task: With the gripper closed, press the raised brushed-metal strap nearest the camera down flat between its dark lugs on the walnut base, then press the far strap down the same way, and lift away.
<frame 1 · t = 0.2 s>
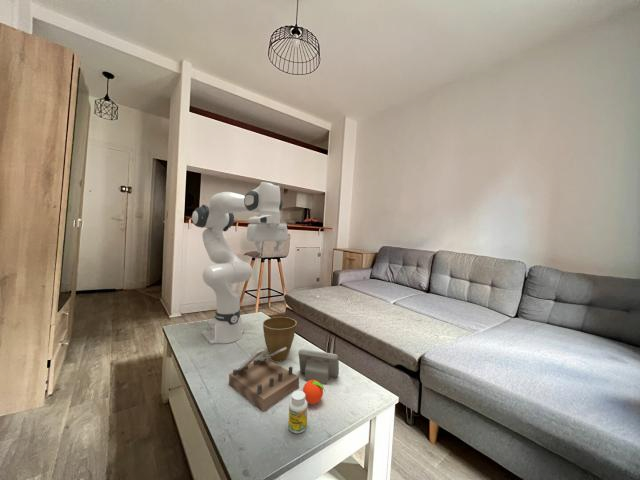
hand: (268, 251, 105), 48 cm above the table, fingers open, 8 cm apart
plant pot: (278, 357, 109), on the table
strap base: (263, 385, 89), on the table
clementine: (313, 402, 82), on the table
supplement bottle: (297, 427, 71), on the table
near strap: (249, 361, 87), point 10 cm above the table, hinge at 45.0°
digital clock: (318, 377, 96), on the table
far strap: (270, 355, 93), point 9 cm above the table, hinge at 35.0°
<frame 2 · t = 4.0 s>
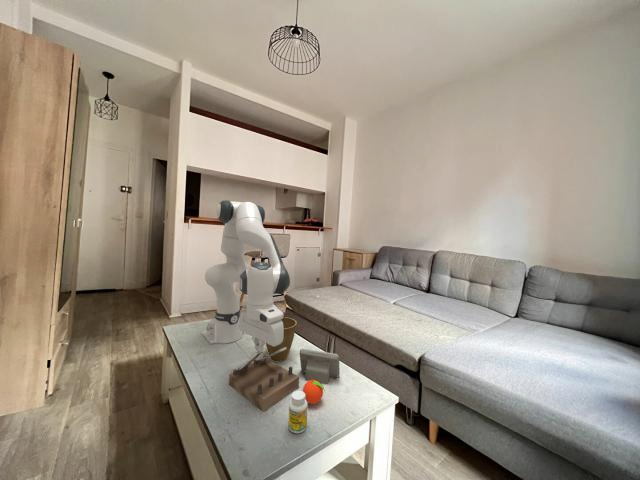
hand: (259, 350, 83), 16 cm above the table, fingers closed
near strap: (249, 361, 87), point 10 cm above the table, hinge at 44.1°, touching gripper
everything else where it was.
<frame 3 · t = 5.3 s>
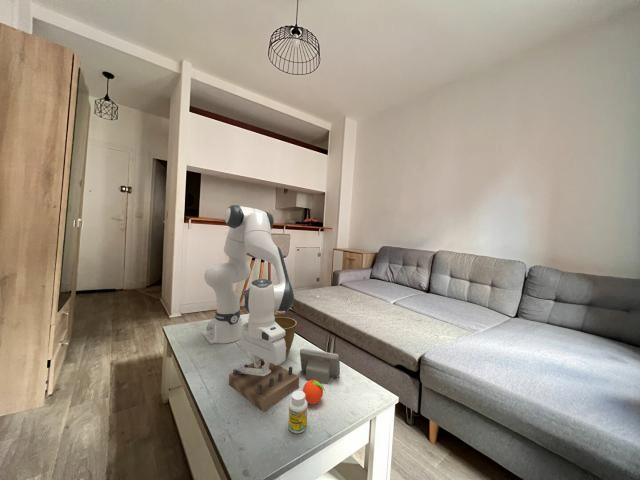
hand: (261, 369, 83), 10 cm above the table, fingers open, 3 cm apart
near strap: (252, 371, 86), point 7 cm above the table, hinge at 18.5°, touching gripper
everything else where it was.
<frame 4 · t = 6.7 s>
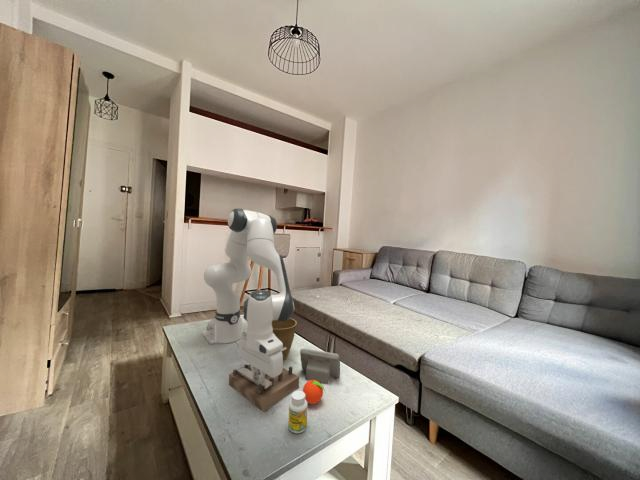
hand: (258, 379, 84), 6 cm above the table, fingers closed on near strap, 2 cm apart
near strap: (253, 377, 86), point 5 cm above the table, hinge at 4.1°, touching gripper
everything else where it was.
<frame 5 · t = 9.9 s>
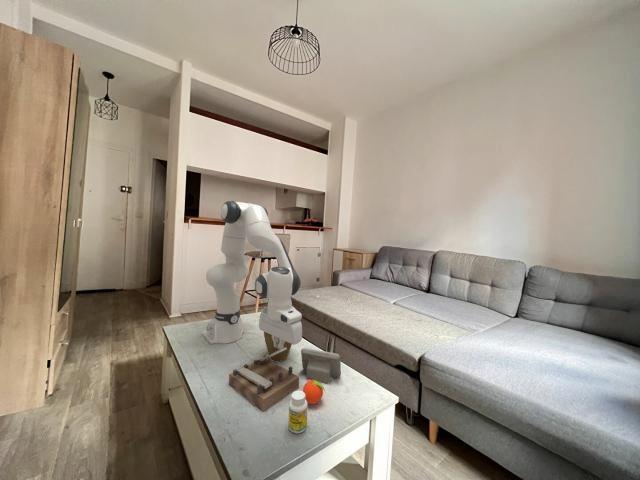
hand: (278, 347, 91), 13 cm above the table, fingers closed
near strap: (253, 377, 86), point 5 cm above the table, hinge at 4.1°
far strap: (270, 355, 93), point 9 cm above the table, hinge at 34.6°, touching gripper
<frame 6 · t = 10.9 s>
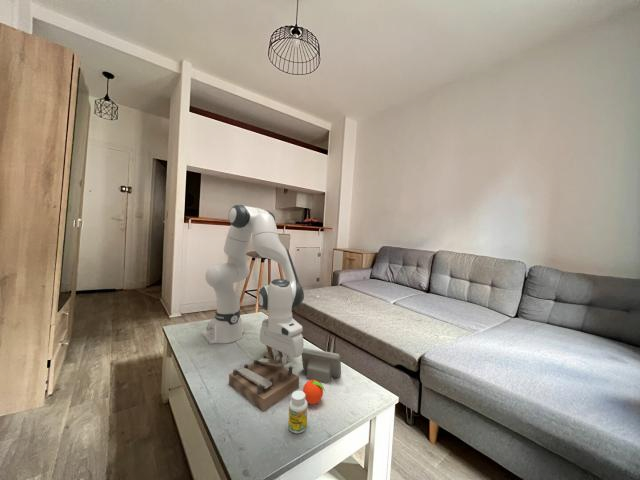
hand: (280, 361, 90), 9 cm above the table, fingers closed
far strap: (272, 362, 93), point 7 cm above the table, hinge at 15.2°, touching gripper
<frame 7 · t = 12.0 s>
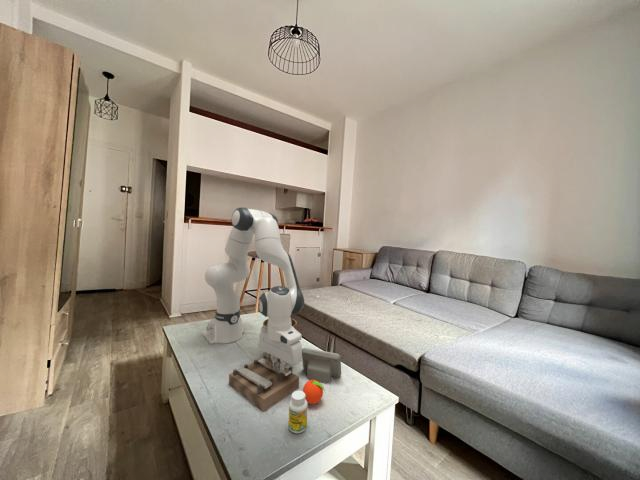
hand: (278, 367, 91), 6 cm above the table, fingers closed on far strap, 2 cm apart
far strap: (273, 366, 93), point 5 cm above the table, hinge at 4.3°, touching gripper
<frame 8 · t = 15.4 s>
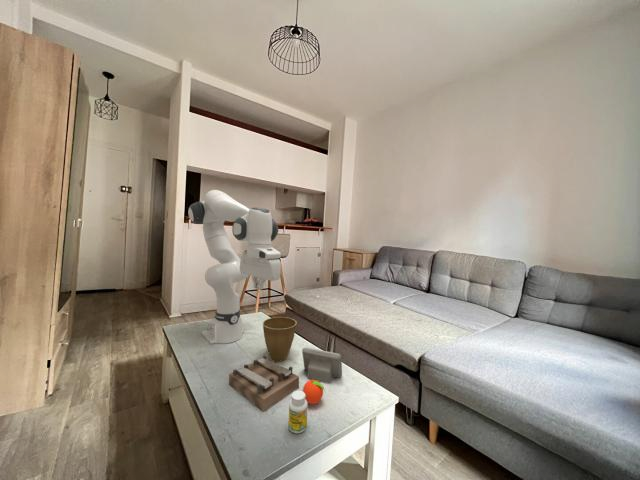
hand: (258, 288, 91), 35 cm above the table, fingers closed
far strap: (273, 366, 93), point 5 cm above the table, hinge at 4.2°
at the end: near strap at +4° (first picture: +45°); far strap at +4° (first picture: +35°) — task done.
